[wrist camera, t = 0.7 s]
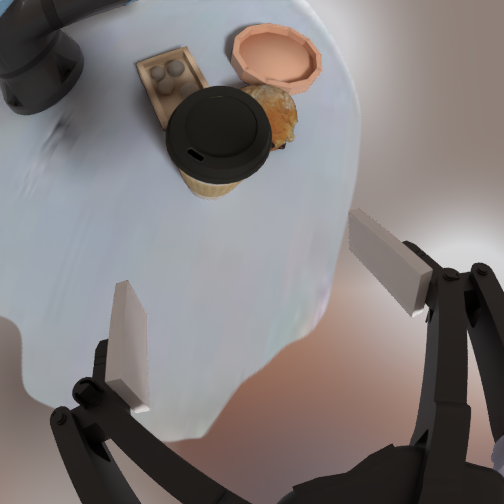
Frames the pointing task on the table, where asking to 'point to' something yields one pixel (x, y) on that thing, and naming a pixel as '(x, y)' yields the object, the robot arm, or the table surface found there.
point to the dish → (276, 58)
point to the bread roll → (276, 112)
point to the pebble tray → (174, 97)
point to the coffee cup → (218, 139)
